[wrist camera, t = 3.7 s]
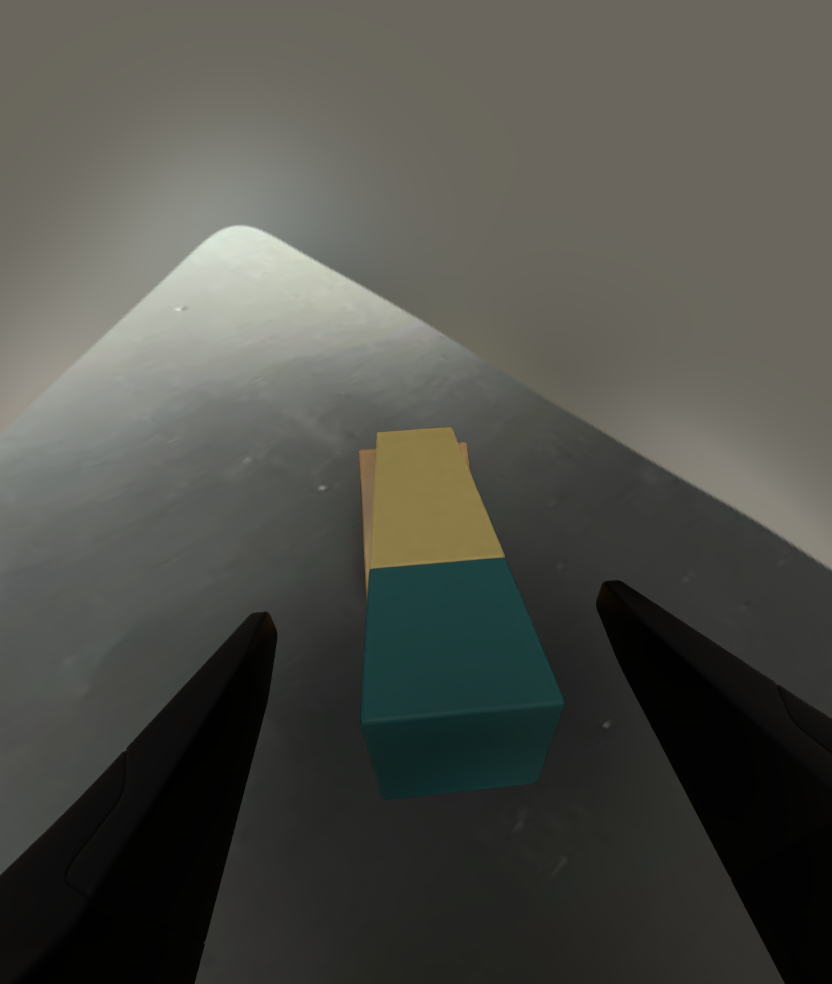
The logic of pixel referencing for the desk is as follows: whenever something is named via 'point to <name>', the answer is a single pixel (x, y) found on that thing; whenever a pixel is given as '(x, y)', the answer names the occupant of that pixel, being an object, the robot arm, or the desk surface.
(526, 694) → the two-tone square bar
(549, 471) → the desk surface
